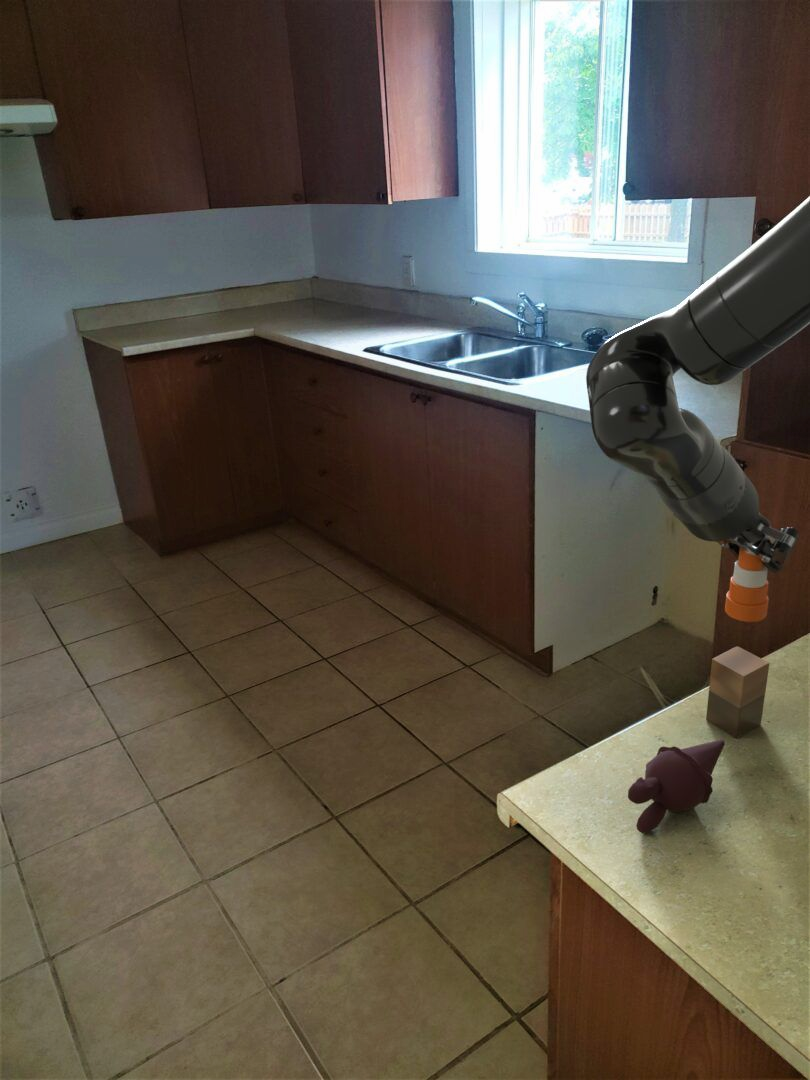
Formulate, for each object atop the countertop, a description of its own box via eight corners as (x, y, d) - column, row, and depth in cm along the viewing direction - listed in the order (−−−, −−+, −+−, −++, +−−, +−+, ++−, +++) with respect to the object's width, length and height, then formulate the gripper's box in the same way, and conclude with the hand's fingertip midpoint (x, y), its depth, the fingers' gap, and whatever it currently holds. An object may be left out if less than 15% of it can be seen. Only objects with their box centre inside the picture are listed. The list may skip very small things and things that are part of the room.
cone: (775, 613, 91) (786, 533, 87) (749, 626, 90) (759, 544, 85) (742, 598, 95) (751, 520, 91) (716, 610, 93) (724, 531, 89)
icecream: (689, 705, 93) (599, 774, 86) (747, 723, 87) (655, 798, 80) (701, 757, 95) (614, 828, 88) (758, 778, 89) (669, 856, 82)
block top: (765, 694, 97) (769, 662, 95) (740, 708, 95) (744, 676, 93) (733, 676, 100) (737, 645, 98) (708, 689, 98) (711, 658, 96)
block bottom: (761, 724, 99) (765, 694, 97) (736, 739, 97) (740, 708, 95) (730, 706, 102) (733, 676, 100) (705, 719, 100) (708, 689, 98)
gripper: (792, 473, 74) (841, 550, 86) (663, 440, 85) (722, 512, 96) (751, 544, 74) (806, 612, 85) (627, 501, 84) (691, 567, 96)
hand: (761, 558), depth 91 cm, fingers closed on cone, 3 cm apart
